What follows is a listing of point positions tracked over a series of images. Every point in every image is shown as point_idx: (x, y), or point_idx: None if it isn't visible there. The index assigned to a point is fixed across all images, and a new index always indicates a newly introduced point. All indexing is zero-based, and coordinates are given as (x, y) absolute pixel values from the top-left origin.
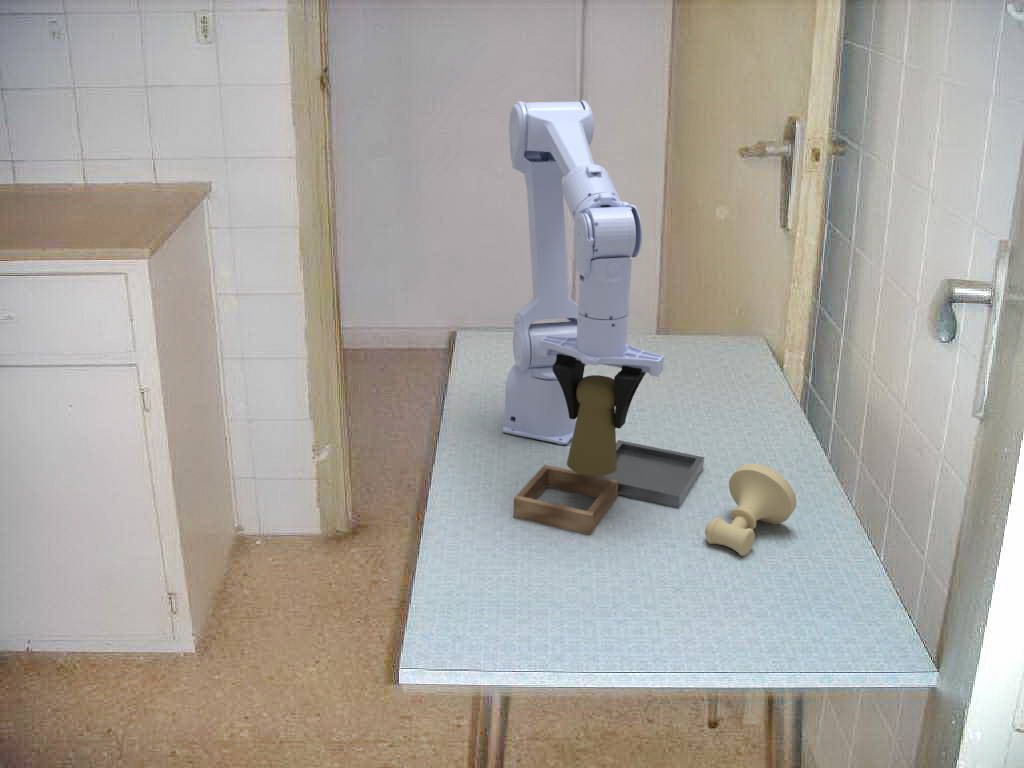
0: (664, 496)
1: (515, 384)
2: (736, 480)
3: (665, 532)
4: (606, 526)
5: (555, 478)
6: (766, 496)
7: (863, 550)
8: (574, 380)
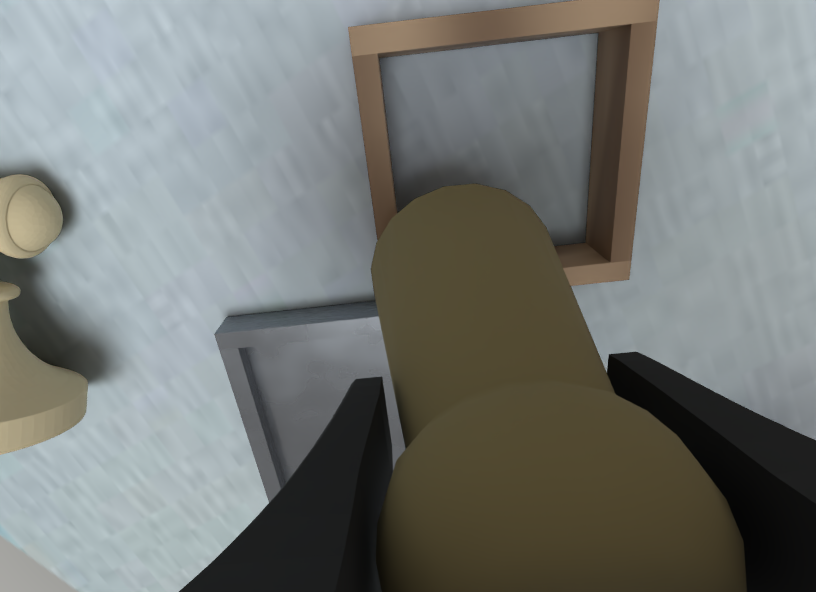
0: (259, 324)
1: None
2: (2, 406)
3: (182, 182)
4: (338, 119)
5: (573, 255)
6: None
7: None
8: (808, 575)
